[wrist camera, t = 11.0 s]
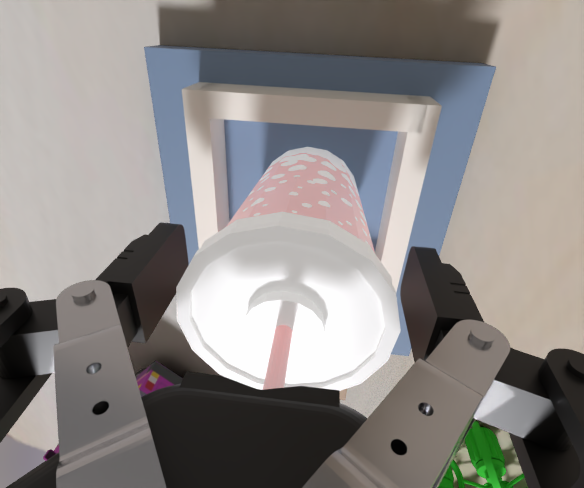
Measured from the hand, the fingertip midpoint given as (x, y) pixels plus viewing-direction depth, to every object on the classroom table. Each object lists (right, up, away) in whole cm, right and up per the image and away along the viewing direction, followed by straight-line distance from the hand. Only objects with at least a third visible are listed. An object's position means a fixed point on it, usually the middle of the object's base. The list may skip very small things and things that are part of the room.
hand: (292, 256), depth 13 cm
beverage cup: (+1, +3, +5) cm, 6 cm away
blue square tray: (+1, +2, +7) cm, 7 cm away
